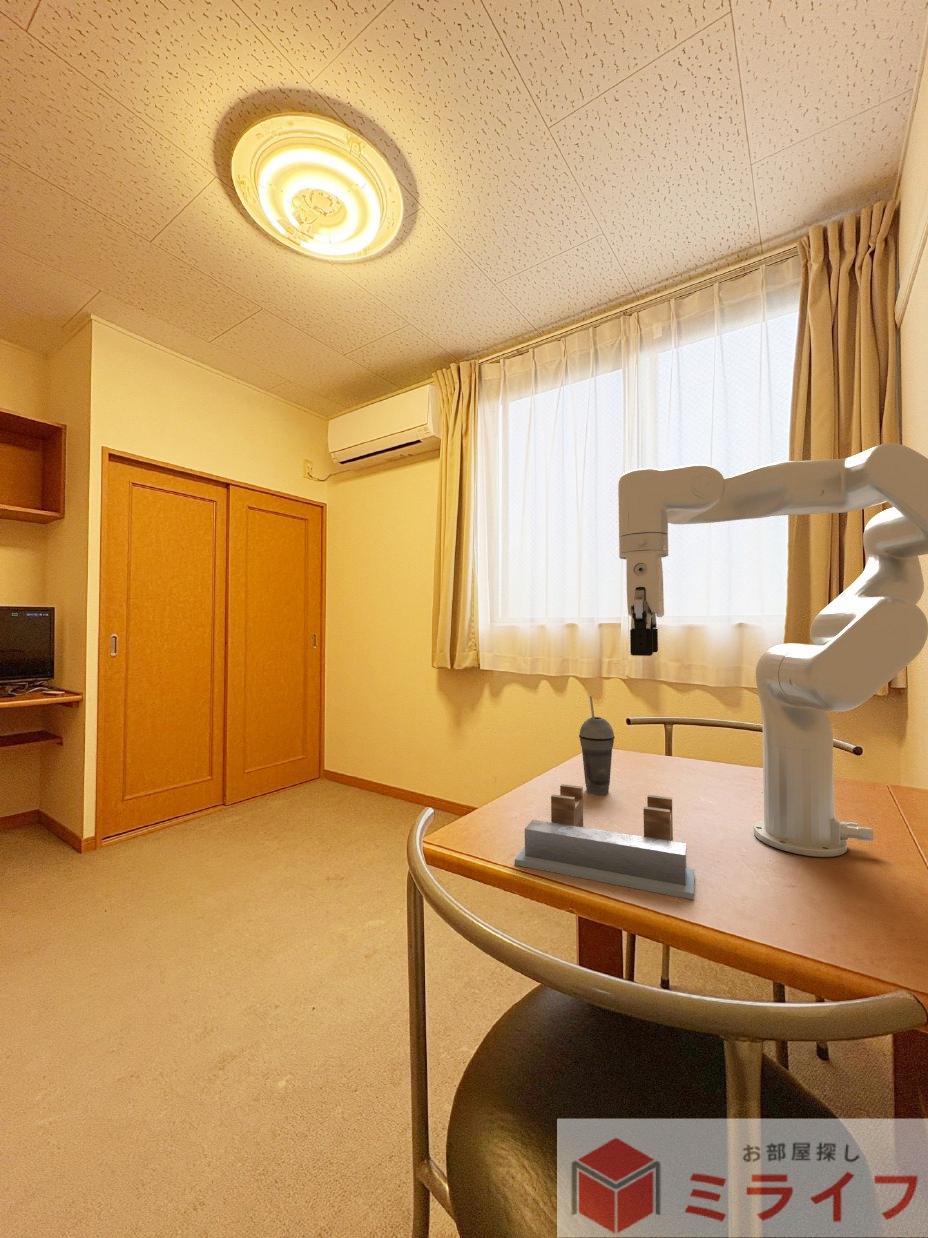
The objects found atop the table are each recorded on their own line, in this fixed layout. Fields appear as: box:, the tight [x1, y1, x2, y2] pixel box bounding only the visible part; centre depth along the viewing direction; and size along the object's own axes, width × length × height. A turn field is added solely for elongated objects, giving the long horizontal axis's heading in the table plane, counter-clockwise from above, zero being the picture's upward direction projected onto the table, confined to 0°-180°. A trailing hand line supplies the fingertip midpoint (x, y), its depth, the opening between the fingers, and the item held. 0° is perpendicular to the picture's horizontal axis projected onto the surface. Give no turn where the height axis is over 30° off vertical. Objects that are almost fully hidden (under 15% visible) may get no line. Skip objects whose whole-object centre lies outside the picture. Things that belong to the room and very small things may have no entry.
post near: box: [643, 794, 674, 841], centre depth 79 cm, size 4×7×8 cm, turn 155°
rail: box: [524, 819, 687, 886], centre depth 74 cm, size 22×4×4 cm, turn 65°
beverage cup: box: [578, 695, 616, 796], centre depth 108 cm, size 7×7×20 cm
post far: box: [550, 783, 584, 827], centre depth 84 cm, size 4×7×8 cm, turn 155°
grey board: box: [514, 846, 695, 901], centre depth 74 cm, size 24×7×1 cm, turn 65°
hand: (644, 653), depth 83 cm, fingers open, 9 cm apart
